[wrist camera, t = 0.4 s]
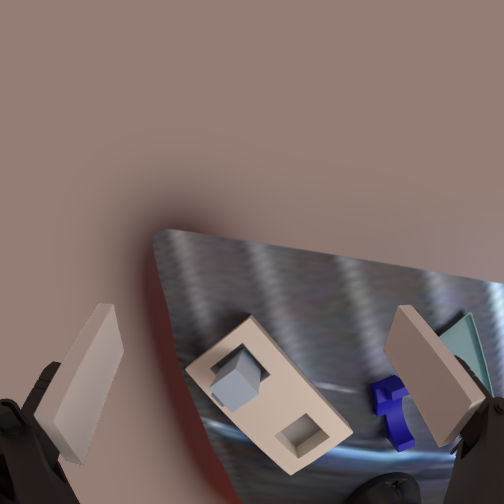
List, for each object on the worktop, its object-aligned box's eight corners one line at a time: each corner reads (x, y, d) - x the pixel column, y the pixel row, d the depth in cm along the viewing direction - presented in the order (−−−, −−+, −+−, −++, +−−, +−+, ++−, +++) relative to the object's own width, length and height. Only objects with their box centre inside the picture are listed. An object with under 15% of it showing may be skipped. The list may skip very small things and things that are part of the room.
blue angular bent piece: (370, 384, 44) (382, 396, 38) (394, 374, 44) (409, 385, 38) (379, 440, 42) (390, 456, 36) (401, 431, 42) (414, 445, 36)
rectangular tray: (492, 411, 41) (498, 414, 39) (460, 438, 41) (466, 442, 39) (463, 309, 44) (471, 310, 42) (427, 338, 44) (434, 340, 42)
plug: (261, 366, 44) (258, 394, 32) (236, 384, 44) (226, 416, 32) (243, 346, 44) (235, 368, 32) (219, 365, 44) (203, 392, 32)
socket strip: (345, 419, 43) (353, 432, 38) (288, 459, 43) (290, 475, 38) (251, 314, 46) (249, 317, 41) (193, 361, 45) (184, 369, 40)
